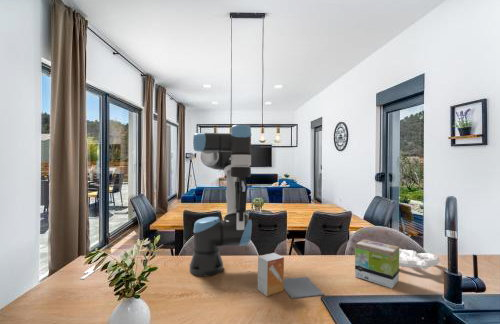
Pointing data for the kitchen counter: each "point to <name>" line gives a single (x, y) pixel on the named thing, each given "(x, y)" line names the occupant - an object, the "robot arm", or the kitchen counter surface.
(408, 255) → the white towel
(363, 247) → the tea box
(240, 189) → the robot arm
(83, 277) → the white plastic blade
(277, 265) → the small box
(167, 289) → the kitchen counter surface
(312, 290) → the mat
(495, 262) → the kitchen counter surface
